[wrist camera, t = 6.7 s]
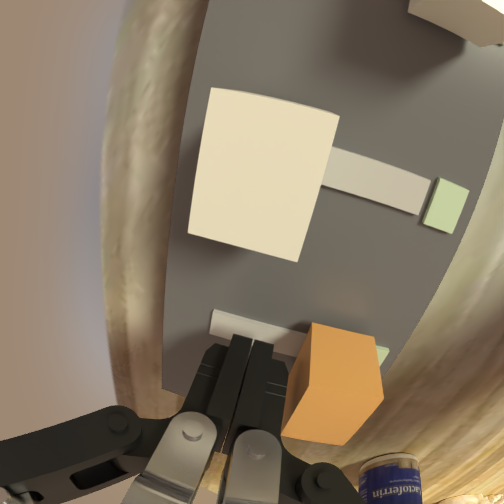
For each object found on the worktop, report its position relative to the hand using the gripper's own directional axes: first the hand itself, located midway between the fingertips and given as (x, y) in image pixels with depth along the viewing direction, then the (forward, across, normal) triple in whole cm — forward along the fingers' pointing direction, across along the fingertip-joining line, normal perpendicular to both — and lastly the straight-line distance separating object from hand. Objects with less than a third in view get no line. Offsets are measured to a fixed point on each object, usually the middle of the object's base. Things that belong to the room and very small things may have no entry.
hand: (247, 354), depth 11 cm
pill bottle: (+5, -16, +16) cm, 23 cm away
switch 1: (+1, +1, -7) cm, 7 cm away
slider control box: (+5, -1, -10) cm, 11 cm away
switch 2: (+1, -3, 0) cm, 3 cm away
